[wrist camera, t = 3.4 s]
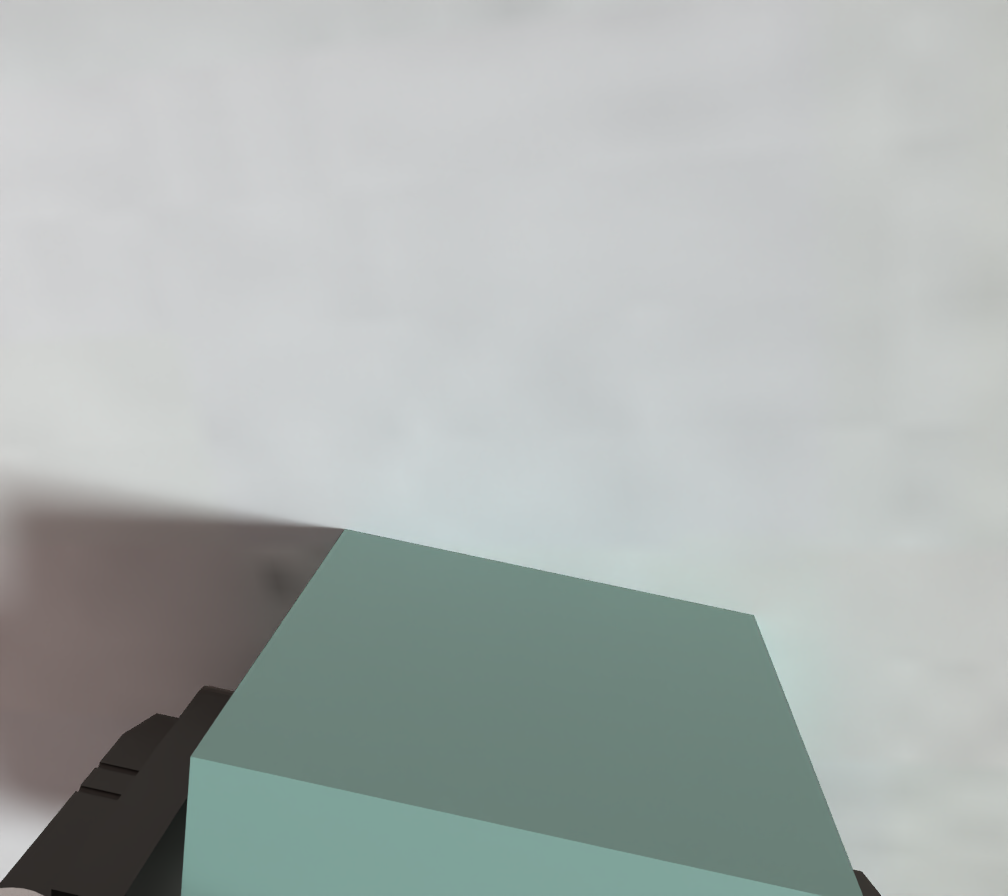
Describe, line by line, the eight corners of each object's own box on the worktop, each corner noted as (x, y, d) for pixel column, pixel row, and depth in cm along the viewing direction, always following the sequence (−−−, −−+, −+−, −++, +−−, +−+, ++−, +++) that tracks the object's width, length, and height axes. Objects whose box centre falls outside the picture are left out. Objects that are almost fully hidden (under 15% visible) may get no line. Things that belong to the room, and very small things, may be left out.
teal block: (347, 525, 12) (190, 755, 7) (752, 610, 12) (865, 905, 7) (305, 840, 14) (161, 1185, 9) (651, 917, 14) (687, 1309, 9)
